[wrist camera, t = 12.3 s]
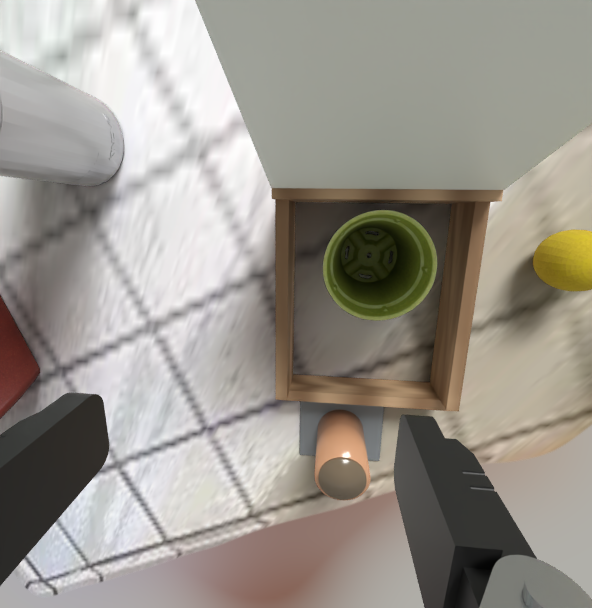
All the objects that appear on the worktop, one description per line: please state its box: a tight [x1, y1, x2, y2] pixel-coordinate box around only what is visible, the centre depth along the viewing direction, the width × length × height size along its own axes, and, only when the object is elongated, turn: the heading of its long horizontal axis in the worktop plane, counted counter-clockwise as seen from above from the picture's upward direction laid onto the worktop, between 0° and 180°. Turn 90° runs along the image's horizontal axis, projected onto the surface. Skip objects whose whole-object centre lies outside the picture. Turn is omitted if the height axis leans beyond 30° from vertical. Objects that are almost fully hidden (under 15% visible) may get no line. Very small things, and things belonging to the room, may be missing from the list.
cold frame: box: [272, 188, 503, 411], centre depth 34 cm, size 18×22×8 cm
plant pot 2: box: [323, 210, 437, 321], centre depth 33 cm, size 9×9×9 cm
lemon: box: [533, 230, 592, 291], centre depth 32 cm, size 6×6×8 cm
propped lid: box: [195, 0, 592, 190], centre depth 21 cm, size 18×12×29 cm, turn 89°
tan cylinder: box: [315, 410, 370, 500], centre depth 39 cm, size 6×6×8 cm
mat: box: [300, 401, 384, 461], centre depth 43 cm, size 10×8×1 cm
